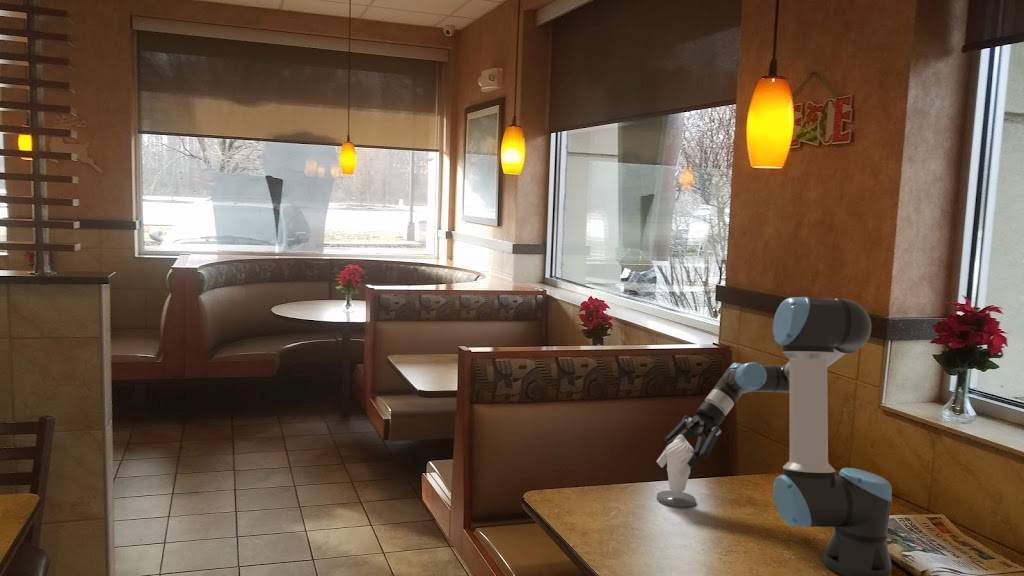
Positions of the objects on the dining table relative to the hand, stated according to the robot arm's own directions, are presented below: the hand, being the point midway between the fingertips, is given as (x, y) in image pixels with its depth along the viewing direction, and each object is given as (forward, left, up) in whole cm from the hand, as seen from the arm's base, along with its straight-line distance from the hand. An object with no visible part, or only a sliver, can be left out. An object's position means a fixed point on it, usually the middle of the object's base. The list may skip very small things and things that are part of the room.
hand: (669, 469), depth 230 cm
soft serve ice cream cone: (+3, -2, -7) cm, 7 cm away
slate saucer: (+3, -2, -10) cm, 10 cm away
